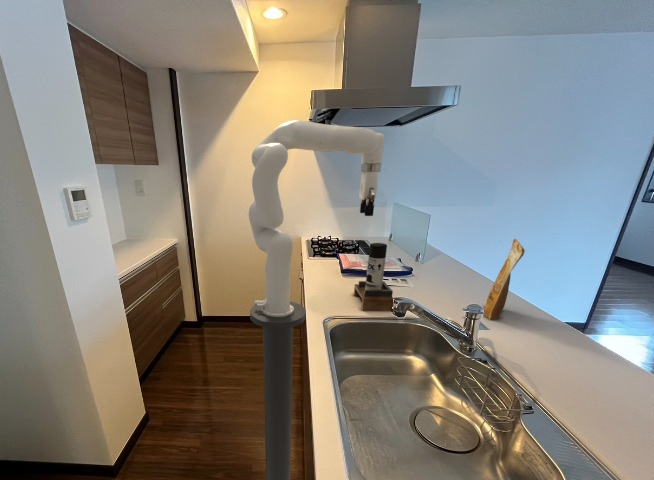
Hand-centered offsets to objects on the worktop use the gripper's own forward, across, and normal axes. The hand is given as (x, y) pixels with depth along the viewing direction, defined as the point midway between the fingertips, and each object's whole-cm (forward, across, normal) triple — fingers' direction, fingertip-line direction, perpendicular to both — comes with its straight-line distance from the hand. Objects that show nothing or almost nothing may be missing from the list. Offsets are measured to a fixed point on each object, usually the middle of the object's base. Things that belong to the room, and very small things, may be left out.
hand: (366, 214), depth 129 cm
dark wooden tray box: (+36, +7, +5) cm, 37 cm away
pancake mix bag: (+36, +16, +50) cm, 63 cm away
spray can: (+31, +7, +5) cm, 32 cm away
